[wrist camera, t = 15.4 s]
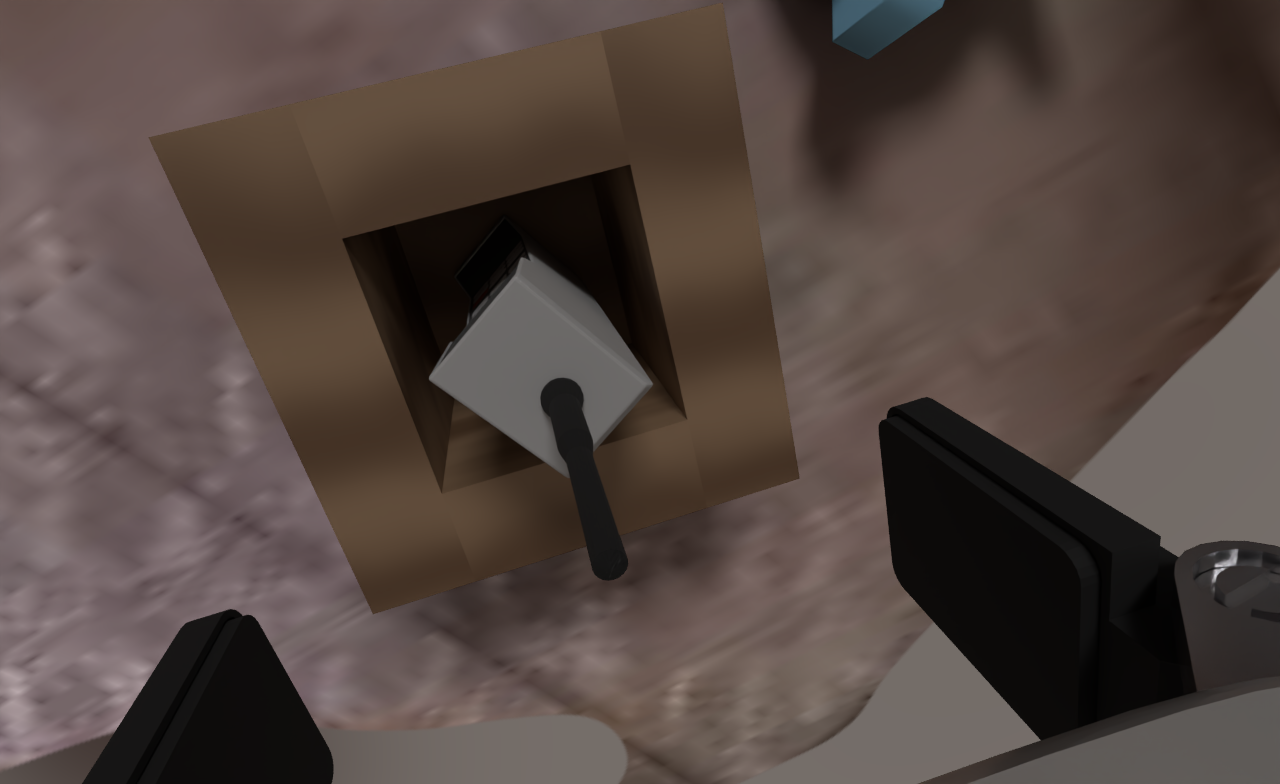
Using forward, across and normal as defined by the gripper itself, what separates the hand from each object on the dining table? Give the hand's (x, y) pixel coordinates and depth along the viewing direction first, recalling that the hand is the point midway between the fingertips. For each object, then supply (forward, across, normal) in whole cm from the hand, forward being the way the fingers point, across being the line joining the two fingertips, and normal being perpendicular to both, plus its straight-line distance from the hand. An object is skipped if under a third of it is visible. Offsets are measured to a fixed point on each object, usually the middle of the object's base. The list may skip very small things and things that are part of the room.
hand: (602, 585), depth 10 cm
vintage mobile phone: (+26, 0, 0) cm, 26 cm away
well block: (+27, 0, 0) cm, 27 cm away
